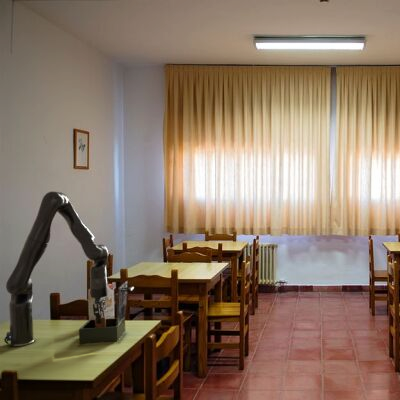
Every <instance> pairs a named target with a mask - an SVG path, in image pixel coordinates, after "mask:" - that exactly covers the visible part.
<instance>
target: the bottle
mask: <svg viewBox="0 0 400 400" xmlns="http://www.w3.org/2000/svg"><path fill="white" fill-rule="evenodd" d="M97 313H98V312H97ZM100 327H106V318H105V316H103V312H102V311H101V323H100V324H97V323H96V317H95V328H100Z"/></svg>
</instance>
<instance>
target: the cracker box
mask: <svg viewBox="0 0 400 400" xmlns="http://www.w3.org/2000/svg"><path fill="white" fill-rule="evenodd" d="M107 288H108V295H107V296H106V297H104V298H106V310H105V312H104V316H105V318H106V319H110V318H115V286H114V284H112V283H107ZM87 297H88V298H87V299H88V320H95V317H96V316H94V311H93V304H94V301H95V298H92V297H91V292H90V288H88V289H87ZM97 312H98V311H97Z"/></svg>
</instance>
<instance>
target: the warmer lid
mask: <svg viewBox="0 0 400 400" xmlns="http://www.w3.org/2000/svg"><path fill="white" fill-rule="evenodd" d="M134 289H135V287H134V286H130V287H129V286H128V280H127V281H126V280H125V282H123V283H121V285H120V286H118V288H117V301H116V317H115V318H116V326H118V325H119V324H120V323H121V321H122V320H123V319H124V318H125V319H126V314H127V295H128V293H129V294H130V293H131V292H132V291H134Z"/></svg>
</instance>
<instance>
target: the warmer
mask: <svg viewBox="0 0 400 400" xmlns="http://www.w3.org/2000/svg"><path fill="white" fill-rule="evenodd" d="M116 318H117V317H114V318H110V319H106V327H100V328H95V320H89V319H88V321H86V322H85V323H84V324H83V325H81V327H79V329H78V340H79V342H78V343H79V345H91V344H102V343H118V342H119V341H120V339H121V338H122V337H123V336H124V334H125V332H126V317H125V318H124V319H123V320H122V321H121V323H120V324H119V325H118V326H116Z"/></svg>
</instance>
